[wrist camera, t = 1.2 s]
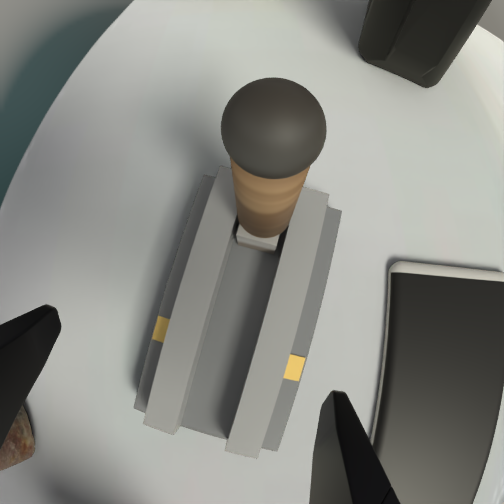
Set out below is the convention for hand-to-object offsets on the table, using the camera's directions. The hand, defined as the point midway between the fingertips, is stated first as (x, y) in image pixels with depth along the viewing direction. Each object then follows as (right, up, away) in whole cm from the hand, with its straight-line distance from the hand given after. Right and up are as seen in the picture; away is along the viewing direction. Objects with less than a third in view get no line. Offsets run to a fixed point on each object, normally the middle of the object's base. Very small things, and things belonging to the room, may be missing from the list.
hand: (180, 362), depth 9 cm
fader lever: (+3, +5, +12) cm, 14 cm away
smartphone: (+18, -11, +12) cm, 24 cm away
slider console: (+1, -1, +13) cm, 13 cm away
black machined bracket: (+19, +28, +20) cm, 40 cm away
